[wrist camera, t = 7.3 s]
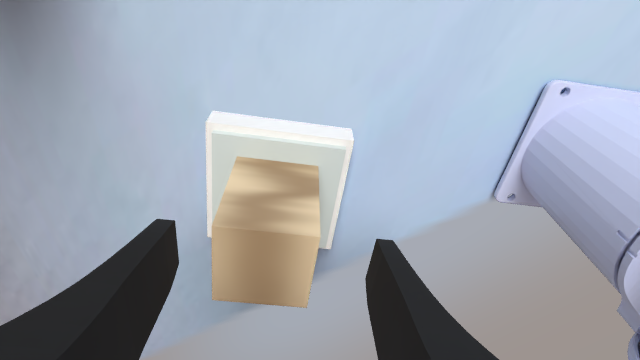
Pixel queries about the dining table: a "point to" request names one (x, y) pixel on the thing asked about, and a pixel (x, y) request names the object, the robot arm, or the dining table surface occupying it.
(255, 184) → the oak block
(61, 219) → the dining table surface
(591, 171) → the robot arm
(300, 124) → the tray
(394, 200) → the dining table surface
